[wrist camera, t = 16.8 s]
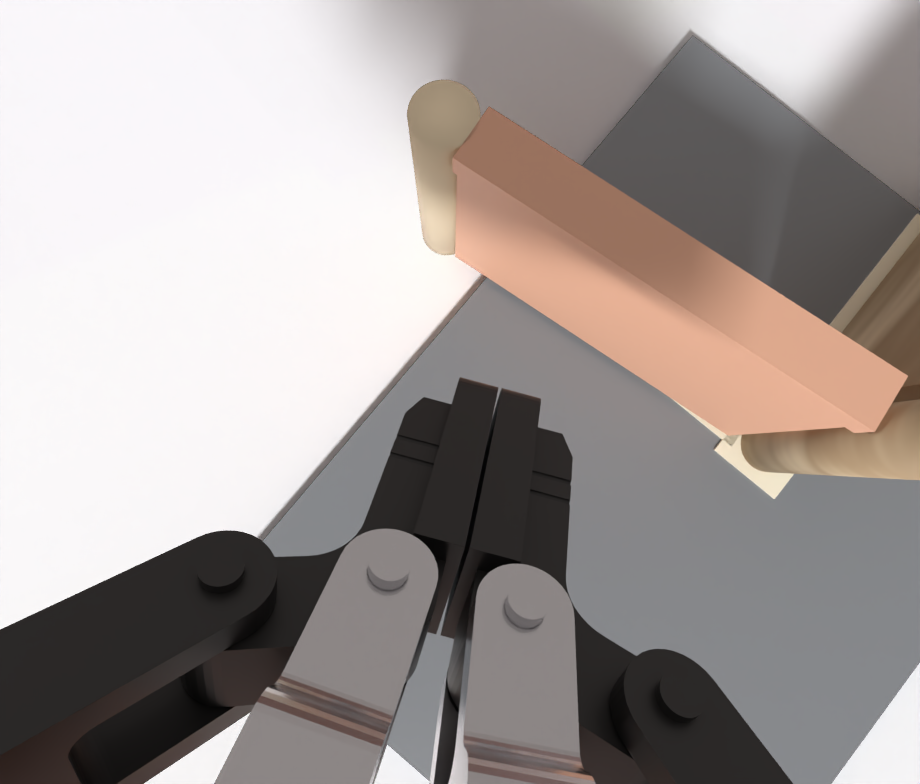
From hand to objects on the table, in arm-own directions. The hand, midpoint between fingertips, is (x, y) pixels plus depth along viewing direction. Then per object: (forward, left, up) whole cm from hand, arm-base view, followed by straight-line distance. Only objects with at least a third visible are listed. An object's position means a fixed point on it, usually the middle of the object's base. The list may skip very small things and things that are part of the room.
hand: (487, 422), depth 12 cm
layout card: (-7, -4, -13) cm, 15 cm away
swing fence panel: (0, -6, -12) cm, 13 cm away
